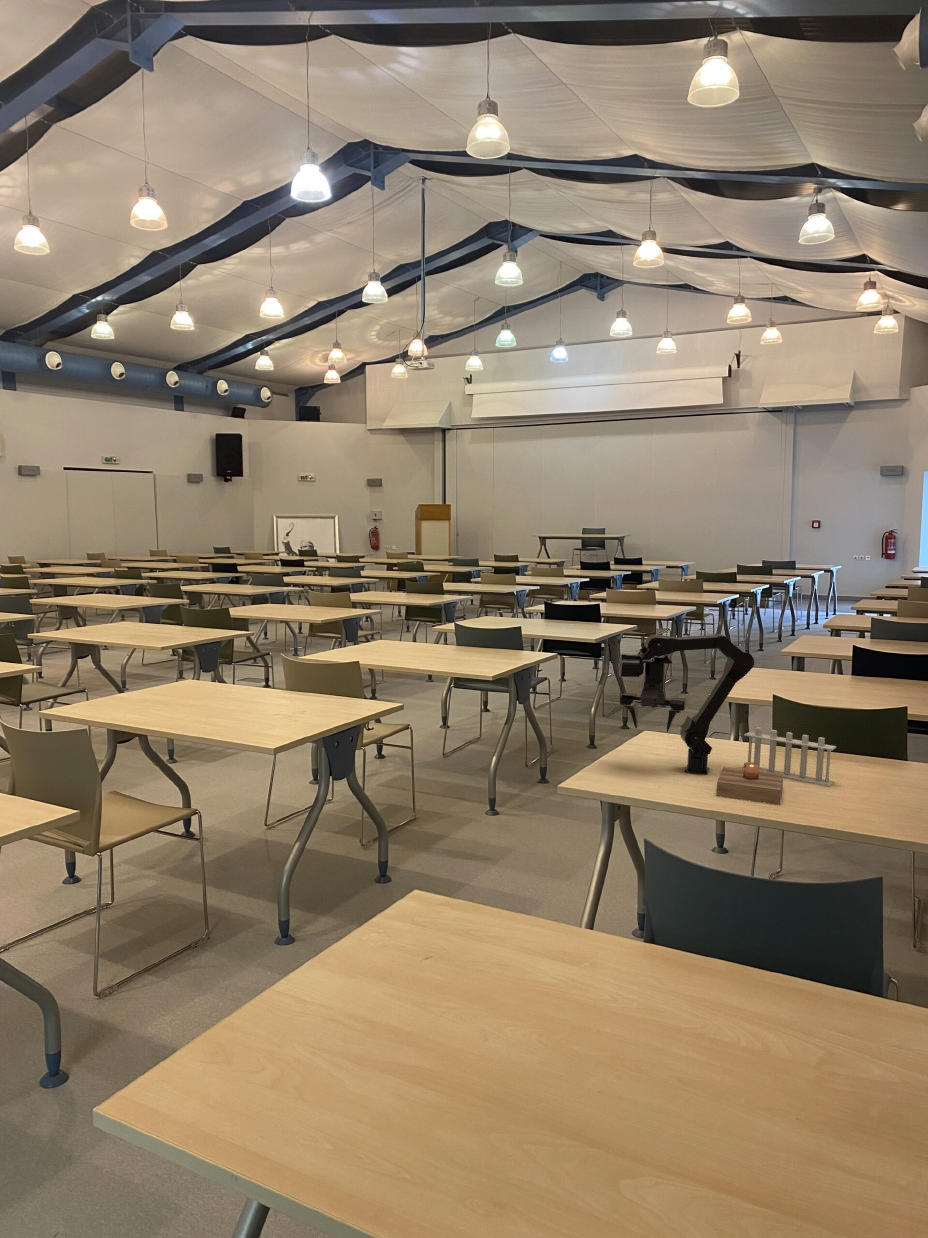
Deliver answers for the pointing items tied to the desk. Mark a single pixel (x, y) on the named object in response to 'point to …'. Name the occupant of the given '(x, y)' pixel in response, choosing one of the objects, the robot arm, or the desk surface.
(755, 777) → the plunger
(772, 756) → the test tube rack
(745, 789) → the press housing
